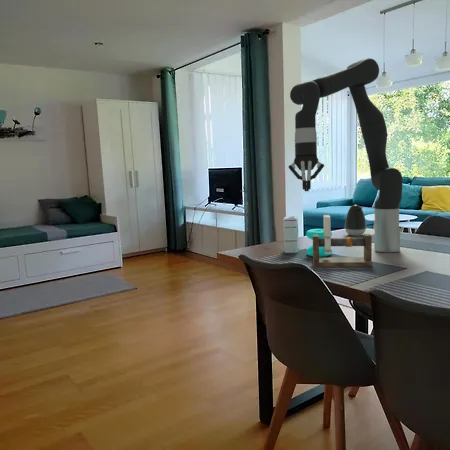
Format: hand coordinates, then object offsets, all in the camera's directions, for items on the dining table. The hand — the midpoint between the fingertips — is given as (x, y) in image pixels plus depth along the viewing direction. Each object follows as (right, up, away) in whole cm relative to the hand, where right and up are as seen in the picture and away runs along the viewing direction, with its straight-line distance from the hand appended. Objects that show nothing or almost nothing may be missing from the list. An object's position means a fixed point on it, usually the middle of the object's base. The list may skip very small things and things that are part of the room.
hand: (306, 191), depth 154 cm
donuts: (+9, -24, +18) cm, 32 cm away
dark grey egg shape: (+35, -17, +59) cm, 71 cm away
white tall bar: (+8, -22, +2) cm, 23 cm away
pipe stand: (+13, -26, +2) cm, 29 cm away
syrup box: (-1, -23, +27) cm, 36 cm away
